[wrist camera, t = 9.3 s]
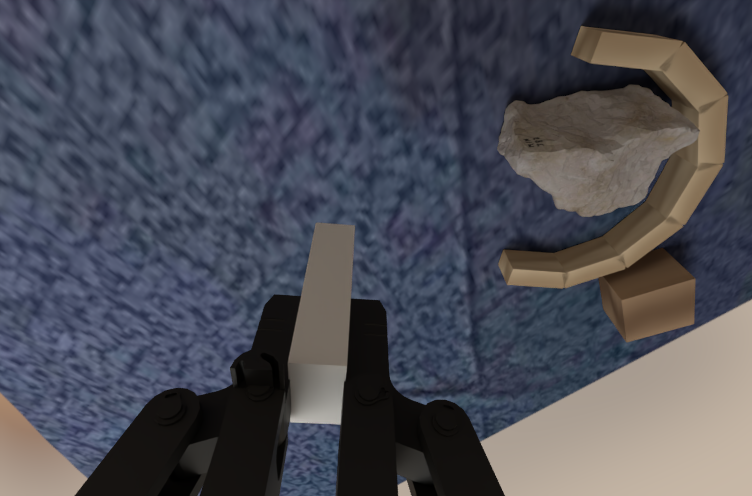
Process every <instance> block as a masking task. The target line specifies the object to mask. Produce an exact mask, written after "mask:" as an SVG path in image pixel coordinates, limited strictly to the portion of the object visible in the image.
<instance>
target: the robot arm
mask: <svg viewBox="0 0 752 496" xmlns="http://www.w3.org/2000/svg"><path fill="white" fill-rule="evenodd" d="M354 232H355V226H353V225H340V224H327V223H316V225H315V230H314V235H313V240H312V245H311V250H310V255H309V260H308V265H307V270H306V275H305V280H304V285H303V290H302V294H301V296H290V295H275V294H274V295H273V297H272V298H271V299H270V300H269V301H268V302H267V303H266V304H265V306H264V309H263V312H262V316H261V320H260V322H259V326H258V330H257V332H256V336H255V339H254V342H253V346H252V349H251V350H250V351H247V352H245V353H243V354H241V355H240V356H239V357H238V358H237V359H235V360H234V362H233V364H232V366H231V367H230V371H231V377H232V382H233V384H232V385H230V386H229V387H227V388H225V389H222V390H219V391H216V392H212V393H208V394H203V395H199V396H196V394H195V393H194V392H192V391H190V390H188V389H184V388H174V389H170V390H166V391H164V392H162V393H160V394H158V395H156V396H155V397H154V398H153V399H152V400H150V401H149V402H148V403H147V404H146V405H145V407H144V408H143V409H142V411H141V412H140V413H139V414H138V416H137V417H136V418H135V419H134V421H133V422H132V423H131V425H130V426H129V427H128V428H127V430H126V431H125V432H124V434H123V435H122V436H121V437H120V439H119V440H118V441H117V442H116V444H115V445H114V446H113V448H112V449H111V450H110V451H109V453H108V454H107V455H106V456H105V458H104V459H103V460H102V462H101V463H100V464H99V465H98V467H97V468H96V469H95V470H94V472H93V473H92V474H91V476H90V477H89V478H88V479H87V481H86V482H85V483H84V484H83V486H82V487H81V488H80V490H79V491H78V492H77V494H76V495H75V496H197V495H198V493H199V492H200V490H201V488H202V486H203V488H202V491H201V494H200V496H279V493H280V487H281V481H282V475H283V469H284V463H285V457H286V451H287V445H288V433H287V432H288V426H289V421H290V422H297V423H320V424H341V425H340V439H339V450H338V467H337V482H336V496H398V485H397V474H398V475H400V476H403V477H405V478H407V482H408V485H409V489H410V492H411V495H412V496H505V495H504V493H503V491H502V489H501V486H500V484H499V482H498V480H497V478H496V476H495V473H494V471H493V470H492V467H491V465H490V463H489V461H488V458H487V456H486V454H485V452H484V450H483V447H482V445H481V443H480V441H479V439H478V437H477V434H476V432H475V430H474V428H473V426H472V424H471V421H470V419H469V417H468V416H467V415H466V413H465V412H464V410H463V409H462V408H460V407H459V406H458V405H457V404H455V403H453V402H450V401H447V400H434V401H432V402H429V403H428V404H427V405H424V404H421V403H418V402H416V401H413V400H410V399H408V398H406V397H404V396H403V395H401V394H400V393H399V392H398V391H397V390H396V389H395V388H394V386H393V385H392V383H391V380H390V376H389V361H388V339H387V318H386V311H385V309H384V307H383V305H382V304H381V302H380V300H366V299H351V286H352V268H353V250H354Z"/></svg>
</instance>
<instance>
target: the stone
mask: <svg viewBox="0 0 752 496" xmlns="http://www.w3.org/2000/svg"><path fill="white" fill-rule="evenodd" d="M699 132H700V130H699V129H698V128H697V127H696V126H695V124H694V123H692V122H691V121H690V120H689V119H688V118H686V117H685V116H684V115H682V114H681V113H680V112H679V111H677V110H676V109H674V108H672V107H670V106H669V104H668V103H666V102H664V101H662V99H661V98H660V97H659V96H656V95H654V94H653V92H652V91H651V90H650V89H648V88H644V87H641V86H640V85H631V84H630V85H628V86H626V87H625V88H621V89H614V90H605V91H596V90H595V91H579V92H577V93H574V94H571V95H568V96H558V97H556V98H554V99H552V100H548V101H545V102H543V103H541V104H532V105H529V104H526V103H525V102H524V101H518V100H515V101H514V102H512V103H511V104H510V105H508V107H507V108H506V110H505V114H504V124H503V127H502V130H501V134H500V136H499V143H498V148H497V150H498V151H499V153H500V154H501V155H504V156H505V158H506V159H507V160H508V162H509V163H510V165H511V167H512V168H513V169H514V170H515V171H516V173H517V174H518V175H521V176H523V177H527V178H531V179H532V180H533V181H534V182H535V183H536V184H537V185H538V186H539V187H540V188H541V189H543V190H544V191H547V192H548V193H550V194H552V196H553V200H554V203H555V206H556V207H557V208H558V209H565V210H567V211H576V212H577V213H578V214H579V215H580V216H583V217H585V216H587V217H592V216H593V215H596V216H598V215H602V214H605V213H610V212H612V211H614V210H615V209H617V208H618V207H625V206H630V205H635V204H637V203H639V202H640V201H641V200H642V199H643V198H645V197H646V195H647V193H648V187H649V185H650V183H651V182H652V180H653V179H654V178H655V174H656V172H657V170H658V168H659V165H660V163H661V161H662V160H664V159H667V158H669V157H670V155H671V154H673V153H674V152H676V151H678V150H679V149H681V148H683V147H686V146H688V145H690V144H692V143H694V142H695V141H696V140H697V138H698V135H699Z"/></svg>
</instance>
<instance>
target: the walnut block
mask: <svg viewBox="0 0 752 496" xmlns="http://www.w3.org/2000/svg"><path fill="white" fill-rule="evenodd" d="M599 284H600V291H601V297H602V304H603V309H604V311H605V312H606V314H607V315H608V316H609V318H610V319H611V321H612V322H613V324H614V325H615V326H616V328H617V329H618V331H619V332H620V334H621V335H622V337H623V338H624V339H625V341H626V342H630V341H633V340H637V339H641V338H644V337H648V336H652V335H655V334H659V333H662V332H666V331H670V330H673V329H677V328H681V327H684V326H688V325H691V324H694V307H695V278H694V277H693V276H692V275H691V274H690V273H689V272H688V271H687V270H686V269H685V268H684V267H683V266H681V265H680V264H679V263H678V262H677V261H676V260H675V259H674V258H673V257H672V256H671V255H670V254H669V253H668V252H667V251H665V250H664V249H663V248H660V249H656V250H653V251H650V252H648V253H647V254H646V255H644V256H643V257H642V258H640V259H639V260H638V261H636V262H635V263H633V264H632V265H631V266H629V267H628V268H627V267H626V266H625V269H624V270H621V271H617V272H614V273H611V274H608V275H605V276H602V277H599Z"/></svg>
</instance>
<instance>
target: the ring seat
mask: <svg viewBox="0 0 752 496" xmlns="http://www.w3.org/2000/svg"><path fill="white" fill-rule="evenodd" d="M571 55H572V56H574V57H577V58H579V59H581V60H584V61H586V62H589V63H592V64H601V65H611V66H620V67H629V68H638V69H643V70H644V71H645V72H646V73H647V74H648V75H649V76H650V77H651V78H652V79H653V81H654V82H655V83H656V84H657V85H658V86H659V87H660V88H661V89H662V90H663V91H664V92H665V94H666V95H667V96H668V97H669V98H670V99H671V100H672V108H674V109H676V110H677V111H679V112H680V113H681V114H682V115H684V116H685V117H686V118H688V119H689V120H690V121H691V122H692V123H694V124H695V126H696V127H697V128H698V129H699V130H700V132H699V135H698V138H697V140H696V141H695V142H694V143H692V144H690V145H688V146H686V147H683V148H681V149H679V150H678V151H676V152H674V153H673V154H672V155H671V156H670V158H669V160H668V162H667V164H666V165H665V167H664V169H663V171H662V173H661V175H660V176H659V178H658V180H657V182H656V184H655V185H654V187H653V189H652V191H651V193H650V195H649V196H648V198H647V200H646V202H644V203H643V204H642V205H641V206H639V207H638V208H637V209H636V210H634V211H633V212H632V213H631V214H630V215H628V216H627V217H626V218H625V219H623V220H622V221H621V222H620V223H618V224H617V225H616V226H615V227H614V228H612V229H611V230H610V231H609V232H607V233H606V234H605V235H604V236H602V237H599V238H597V239H594V240H591V241H588V242H585V243H582V244H579V245H576V246H573V247H570V248H567V249H564V250H561V251H558V252H555V253H545V252H531V251H518V250H504V249H503V252H502V255H501V258H500V261H499V264H498V265H499V268H500V270H501V272H502V274H503V277H504V279H505V281H506V283H507V285H520V286H535V287H549V288H563V287H565V288H567V287H570V286H573V285H577V284H580V283H583V282H586V281H589V280H592V279H595V278H599V277H602V276H605V275H608V274H611V273H614V272H617V271H621V270H624V269H625V266H626V267H627V268H628V267H629V266H631V265H632V264H633V263H635V262H636V261H638V260H639V259H640V258H642V257H643V256H644V255H646V254H647V253H648V252H650V251H651V250H652V249H654V248H655V247H656V246H658V245H659V244H660V243H662V242H663V241H664V240H666V239H667V238H668V237H670V236H671V235H673V234H674V233H675V232H677V231H678V230H679V229H681V228H682V227H683V226H682V225H681V224H683V225H685V224H686V222H687V221H688V219H689V218H690V216H691V215H692V213H693V211H694V210H695V208H696V207H697V205H698V204H699V202H700V200H701V199H702V197H703V196H704V194H705V193H706V191H707V189H708V188H709V186H710V185H711V183H712V182H713V180H714V178H715V177H716V175H717V174H718V172H719V171H720V169H721V168H722V166H723V164H721V163H724V156H725V140H726V123H727V106H728V95H726V94H727V92H726V91H725V90H724V88H723V87H722V86H721V85H720V84H719V82H718V81H717V80H716V79H715V78H714V76H713V75H712V74H711V73H710V72H709V70H708V69H707V68H706V67H705V66H704V64H703V63H702V62H701V61H700V60H699V58H698V57H697V56H696V55H695V54H694V52H693V51H692V50H691V49H690V48H689V46H688V45H687V44H686V43H685V42H683V41H680V40H676V39H671V38H667V37H662V36H658V35H653V34H644V33H636V32H627V31H619V30H610V29H602V28H593V27H585V26H581V27H580V30H579V33H578V36H577V39H576V42H575V44H574V47H573V50H572V53H571Z"/></svg>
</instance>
